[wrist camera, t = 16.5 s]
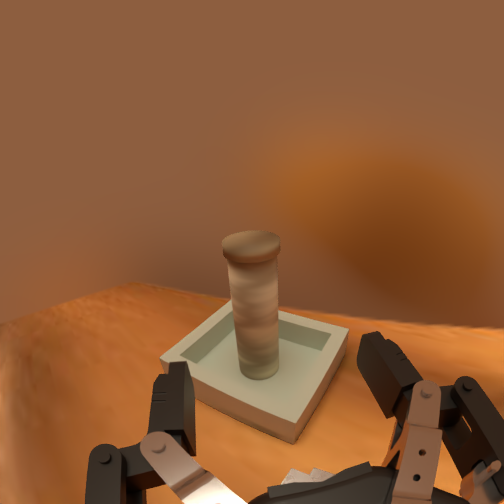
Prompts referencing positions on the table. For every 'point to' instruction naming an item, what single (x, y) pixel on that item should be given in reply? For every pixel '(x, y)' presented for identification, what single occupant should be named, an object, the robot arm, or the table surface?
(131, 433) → the table surface
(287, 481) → the stop collar
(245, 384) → the tray
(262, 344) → the stop peg
